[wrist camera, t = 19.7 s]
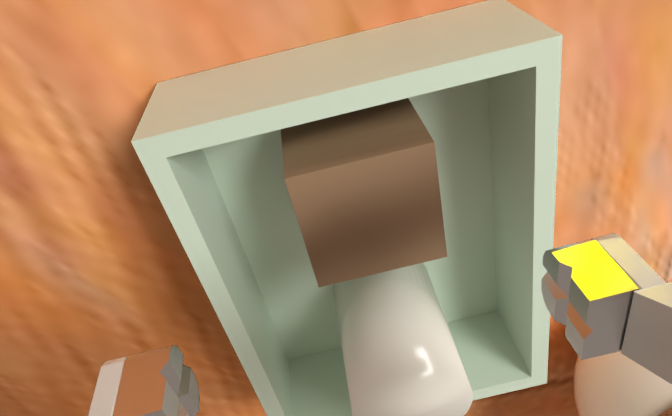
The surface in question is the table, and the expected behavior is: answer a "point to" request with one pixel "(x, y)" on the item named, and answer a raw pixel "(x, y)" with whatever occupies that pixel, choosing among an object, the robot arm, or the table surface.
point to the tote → (454, 181)
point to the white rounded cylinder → (399, 347)
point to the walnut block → (365, 191)
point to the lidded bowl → (619, 388)
